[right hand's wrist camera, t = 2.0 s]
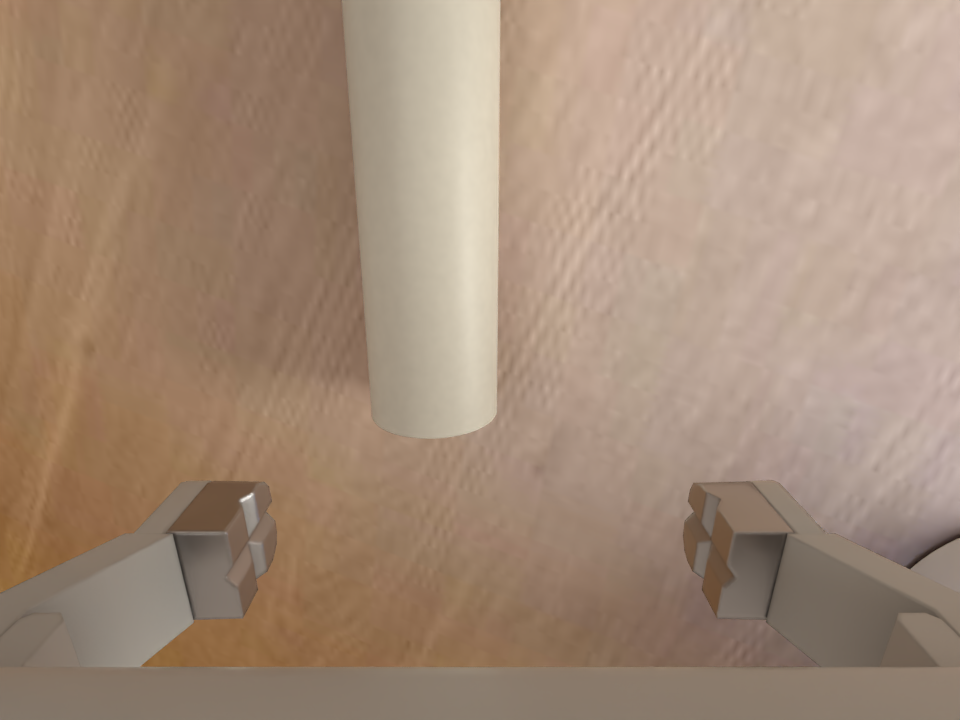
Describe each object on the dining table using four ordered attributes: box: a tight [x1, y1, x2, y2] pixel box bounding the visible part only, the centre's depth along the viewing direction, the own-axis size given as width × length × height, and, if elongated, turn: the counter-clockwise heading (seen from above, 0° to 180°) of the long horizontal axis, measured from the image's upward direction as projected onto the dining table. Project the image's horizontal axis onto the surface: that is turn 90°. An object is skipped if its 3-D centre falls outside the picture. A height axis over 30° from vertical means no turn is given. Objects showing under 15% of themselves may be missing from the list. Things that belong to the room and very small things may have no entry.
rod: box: [341, 0, 500, 439], centre depth 22 cm, size 28×6×6 cm, turn 0°
